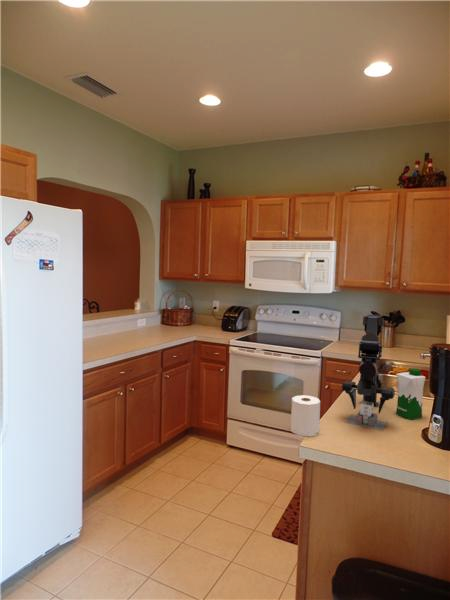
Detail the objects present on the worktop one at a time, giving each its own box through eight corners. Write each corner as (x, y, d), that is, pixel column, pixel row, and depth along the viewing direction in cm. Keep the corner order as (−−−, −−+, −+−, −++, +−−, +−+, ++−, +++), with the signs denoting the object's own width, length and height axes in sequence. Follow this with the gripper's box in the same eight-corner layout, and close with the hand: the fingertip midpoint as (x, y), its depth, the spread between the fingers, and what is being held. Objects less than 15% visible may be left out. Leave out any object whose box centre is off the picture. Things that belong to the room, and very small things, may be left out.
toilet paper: (323, 435, 145) (325, 403, 144) (297, 437, 143) (298, 404, 142) (312, 424, 155) (313, 394, 154) (286, 426, 153) (287, 395, 152)
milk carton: (425, 420, 161) (428, 371, 160) (409, 423, 158) (411, 373, 156) (407, 412, 170) (410, 366, 168) (391, 415, 166) (394, 368, 164)
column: (362, 419, 159) (363, 400, 158) (372, 421, 157) (373, 402, 156) (359, 423, 155) (360, 404, 154) (370, 425, 153) (371, 406, 152)
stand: (351, 416, 164) (351, 407, 164) (387, 424, 157) (388, 414, 156) (344, 424, 155) (345, 414, 155) (382, 433, 148) (383, 422, 148)
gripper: (338, 372, 152) (337, 412, 154) (390, 380, 143) (388, 423, 144) (346, 366, 162) (344, 404, 163) (395, 373, 152) (393, 413, 153)
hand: (366, 410), depth 156 cm, fingers open, 9 cm apart
